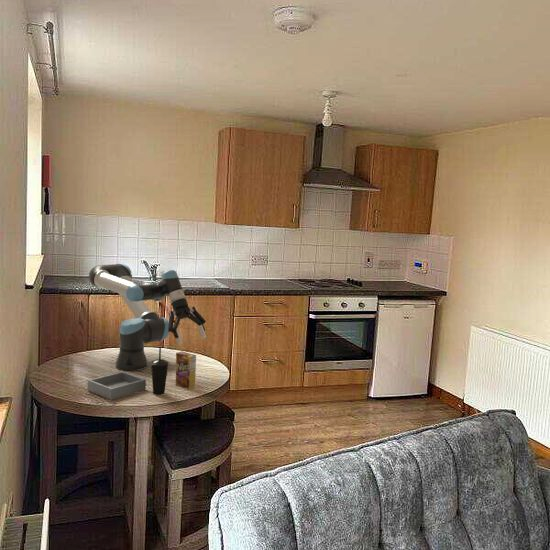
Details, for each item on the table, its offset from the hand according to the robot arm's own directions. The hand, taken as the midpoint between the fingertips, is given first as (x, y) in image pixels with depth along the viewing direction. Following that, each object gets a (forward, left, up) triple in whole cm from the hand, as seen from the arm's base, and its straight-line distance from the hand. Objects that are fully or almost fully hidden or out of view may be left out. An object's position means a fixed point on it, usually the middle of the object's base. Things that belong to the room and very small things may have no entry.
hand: (192, 341), depth 257 cm
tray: (-7, -38, -17) cm, 42 cm away
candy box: (+10, -14, -17) cm, 24 cm away
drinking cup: (+9, -28, -17) cm, 34 cm away
